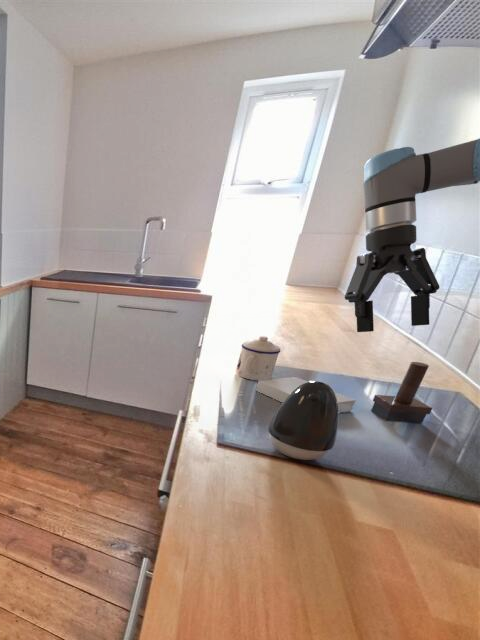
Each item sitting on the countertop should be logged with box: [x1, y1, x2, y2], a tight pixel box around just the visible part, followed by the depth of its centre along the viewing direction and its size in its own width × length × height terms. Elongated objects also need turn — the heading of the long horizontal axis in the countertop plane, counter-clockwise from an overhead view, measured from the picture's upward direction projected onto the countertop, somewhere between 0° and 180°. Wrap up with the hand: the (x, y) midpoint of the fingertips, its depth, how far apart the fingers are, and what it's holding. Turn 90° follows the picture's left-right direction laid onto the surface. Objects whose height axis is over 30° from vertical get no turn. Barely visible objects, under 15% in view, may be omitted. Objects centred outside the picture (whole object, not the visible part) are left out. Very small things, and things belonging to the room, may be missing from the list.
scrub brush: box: [370, 361, 433, 424], centre depth 92 cm, size 8×6×13 cm
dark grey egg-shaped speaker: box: [267, 380, 339, 461], centre depth 78 cm, size 10×10×15 cm
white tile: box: [255, 376, 356, 413], centre depth 103 cm, size 15×12×3 cm
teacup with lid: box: [235, 335, 281, 382], centre depth 115 cm, size 12×9×12 cm
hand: (393, 328), depth 89 cm, fingers open, 13 cm apart
